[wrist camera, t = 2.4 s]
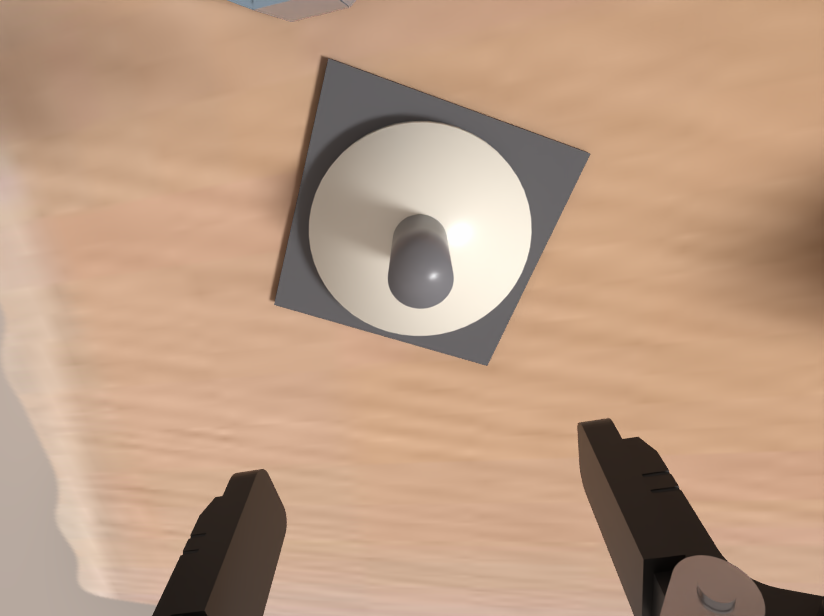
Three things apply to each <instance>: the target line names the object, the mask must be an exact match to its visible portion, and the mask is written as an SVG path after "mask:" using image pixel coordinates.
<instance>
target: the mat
mask: <svg viewBox="0 0 824 616" xmlns="http://www.w3.org/2000/svg"><path fill="white" fill-rule="evenodd" d="M407 121H433V122H441V123H445V124H449V125H453V126H456V127H459V128H461V129H464V130H466V131H468V132H471V133H473V134H474V135H476V136H478V137H479V138H481V139H482V140H484V141H485V142H487V143H488V144H489V145H490V146H491V147H493V148H494V149H495V150H496V151H497V152H498V153H499V154H500V155H501V156H502V157H503V158H504V159H505V161H506V162H507V163H508V164H509V165H510V167H511V168H512V170H513V171H514V173H515V174H516V175H517V177H518V179H519V181H520V183H521V185H522V187H523V189H524V191H525V195H526V198H527V201H528V204H529V209H530V215H531V231H532V233H531V243H530V249H529V253H528V257H527V261H526V263H525V266H524V268H523V271H522V273H521V275H520V277H519V279H518V280H517V282H516V284H515V286H514V287H513V288H512V290H511V291H510V292H509V294H508V295H507V296H506V297H505V298H504V299H503V301H502V302H501V303H500V304H499V305H498V306H497V307H495V308H494V309H493V310H492V311H491V312H489V313H488V314H487V315H485V316H484V317H482V318H481V319H479V320H477V321H476V322H474V323H472V324H470V325H468V326H466V327H463V328H460V329H457V330H455V331H451V332H447V333H443V334H437V335H429V336H411V335H401V334H396V333H392V332H388V331H385V330H382V329H379V328H376V327H374V326H372V325H370V324H368V323H366V322H364V321H362V320H360V319H359V318H357V317H356V316H354V315H353V314H351V313H350V312H349V311H348V310H347V309H345V308H344V307H343V306H342V305H341V304H340V303H339V302H338V301H337V300H336V299H335V298H334V297H333V295H332V294H331V293H330V291H329V290H328V289H327V287H326V286H325V284H324V283H323V281H322V279H321V277H320V275H319V273H318V271H317V268H316V266H315V264H314V260H313V257H312V253H311V249H310V241H309V219H310V212H311V206H312V203H313V200H314V197H315V193H316V191H317V189H318V187H319V185H320V182H321V180H322V179H323V177H324V176H325V174H326V172H327V171H328V169H329V168H330V166H331V165H332V164H333V163H334V162H335V161H336V159H337V158H338V157H339V156H340V155H341V154H342V153H343V152H344V151H345V150H346V149H347V148H348V147H349V146H351V145H352V144H353V143H354V142H356V141H357V140H359V139H360V138H362V137H363V136H365V135H366V134H369V133H371V132H373V131H375V130H377V129H379V128H382V127H385V126H388V125H392V124H395V123H401V122H407ZM589 156H590V153H588V152H585V151H582V150H580V149H577V148H574V147H571V146H569V145H566V144H563V143H560V142H558V141H555V140H552V139H549V138H547V137H544V136H541V135H538V134H536V133H533V132H530V131H527V130H525V129H522V128H519V127H516V126H514V125H511V124H508V123H505V122H503V121H500V120H497V119H494V118H492V117H489V116H486V115H483V114H481V113H478V112H475V111H472V110H470V109H467V108H464V107H461V106H459V105H456V104H453V103H450V102H448V101H445V100H442V99H439V98H437V97H434V96H431V95H428V94H426V93H423V92H420V91H417V90H415V89H412V88H409V87H406V86H404V85H401V84H398V83H396V82H393V81H390V80H387V79H385V78H382V77H379V76H376V75H374V74H371V73H368V72H365V71H363V70H360V69H357V68H354V67H352V66H349V65H346V64H343V63H341V62H338V61H335V60H332V59H329V58H328V63H327V67H326V72H325V76H324V81H323V85H322V90H321V94H320V99H319V103H318V108H317V113H316V117H315V122H314V126H313V131H312V135H311V140H310V144H309V149H308V153H307V158H306V163H305V167H304V172H303V176H302V181H301V185H300V190H299V194H298V199H297V203H296V208H295V213H294V217H293V222H292V226H291V231H290V235H289V240H288V244H287V249H286V253H285V258H284V263H283V267H282V272H281V276H280V281H279V285H278V290H277V294H276V299H275V303H274V305H277V306H280V307H284V308H287V309H291V310H294V311H298V312H301V313H305V314H308V315H311V316H315V317H318V318H322V319H325V320H329V321H332V322H336V323H339V324H343V325H346V326H350V327H353V328H357V329H360V330H364V331H367V332H371V333H374V334H378V335H381V336H385V337H388V338H392V339H395V340H399V341H402V342H406V343H409V344H413V345H416V346H420V347H423V348H427V349H430V350H434V351H437V352H441V353H444V354H448V355H451V356H455V357H458V358H462V359H465V360H469V361H472V362H476V363H479V364H483V365H486V366H487V365H488V363H489V361H490V359H491V357H492V355H493V353H494V351H495V349H496V347H497V345H498V343H499V341H500V339H501V336H502V334H503V332H504V330H505V328H506V326H507V324H508V322H509V320H510V318H511V316H512V314H513V312H514V310H515V308H516V306H517V304H518V302H519V300H520V297H521V295H522V293H523V291H524V289H525V287H526V285H527V283H528V281H529V279H530V277H531V275H532V273H533V271H534V269H535V267H536V265H537V263H538V260H539V258H540V256H541V254H542V252H543V250H544V248H545V246H546V244H547V242H548V240H549V238H550V236H551V234H552V232H553V230H554V228H555V226H556V224H557V221H558V219H559V217H560V215H561V213H562V211H563V209H564V207H565V205H566V203H567V201H568V199H569V197H570V195H571V193H572V191H573V189H574V187H575V185H576V182H577V180H578V178H579V176H580V174H581V172H582V170H583V168H584V166H585V164H586V162H587V160H588V158H589Z"/></svg>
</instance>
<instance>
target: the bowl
mask: <svg viewBox="0 0 824 616" xmlns="http://www.w3.org/2000/svg"><path fill="white" fill-rule="evenodd" d="M228 1H231V2H233V3H236V4H239V5H241V6H244V7H247V8H249V9H252V10H255V11H258V12H262V13H265V14H268V15H271V16H274V17H277V18H281V19H284V20H287V21H290V22H294V21H298V20H302V19H306V18H310V17H314V16H318V15H322V14H326V13H330V12H334V11H338V10H342V9H346V8H349V7H351V6H352V4H353V3H354V2H355V1H356V0H228Z"/></svg>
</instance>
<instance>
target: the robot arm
mask: <svg viewBox="0 0 824 616" xmlns="http://www.w3.org/2000/svg"><path fill="white" fill-rule="evenodd" d="M577 430H578V447H579V465H580V473H581V478H582V482H583V486H584V489H585V492H586V495H587V498H588V500H589V503H590V505H591V508H592V510H593V513H594V515H595V518H596V520H597V523H598V525H599V528H600V530H601V533H602V536H603V538H604V541H605V543H606V546H607V548H608V551H609V553H610V556H611V558H612V561H613V563H614V566H615V568H616V571H617V573H618V576H619V578H620V581H621V584H622V586H623V589H624V591H625V594H626V596H627V599H628V601H629V604H630V606H631V609H632V611H633V614H634V616H824V597H823V596H818V595H812V594H807V593H802V592H796V591H791V590H785V589H780V588H776V587H772V586H768V585H765V584H762V583H760V582H758V581H756V580H753V579H751V578H750V577H749V576H748V575H747V574H745V573H744V572H743V571H742V570H740V569H739V568H738V567H736V566H734V565H733V564H731V563H729V562H728V561H727V560H726V559H725V558H724V557H723V556H722V554H721V553H720V552H719V550H718V549H717V547H716V545H715V544H714V542H713V541H712V539H711V537H710V536H709V534H708V533H707V531H706V529H705V528H704V526H703V525H702V523H701V521H700V520H699V518H698V516H697V515H696V513H695V512H694V510H693V508H692V507H691V505H690V504H689V502H688V500H687V499H686V497H685V496H684V494H683V492H682V491H681V490H680V489H679V486H678V484H677V483H676V481H675V479H674V478H673V476H672V475H671V474H670V473H669V470H668V468H667V467H666V465H665V463H664V462H663V460H662V458H661V457H660V455H659V454H658V452H657V451H656V450H654V449H653V448H652V447H651V446H649V445H648V444H647V443H645V442H644V441H643V440H642V439H640V438H639V437H634V438H627V439H622V438H621V436H620V434H619V432H618V430H617V429H616V427H615V425H614V423H613V422H612V420H611V419H609V418H607V419H600V420H594V421H587V422H580V423H578V426H577ZM286 526H287V520H286V512H285V509H284V506H283V504H282V502H281V500H280V498H279V496H278V493H277V491H276V489H275V487H274V485H273V483H272V481H271V479H270V477H269V474H268V473H267V471H266V470H264V469H260V470H253V471H247V472H240V473H235V474H234V475H232V477H231V478H230V480H229V483H228V485H227V487H226V490H225V492H224V494H223V496H220V497H215V498H214V499H213V501H212V502H211V503H210V504H209V505H208V506H207V508H206V509H205V510H204V511H203V512H202V513H201V515H200V516H199V518H198V520H197V522H196V524H195V527H194V529H193V531H192V533H191V538H190V539H188V541H187V543H186V546H185V548H184V550H183V555H181V556H180V558H179V560H178V562H177V564H176V567H175V569H174V571H173V573H172V575H171V577H170V579H169V581H168V583H167V586H166V588H165V590H164V592H163V594H162V596H161V598H160V600H159V602H158V605H157V607H156V609H155V611H154V613H153V615H152V616H263V614H264V610H265V606H266V603H267V599H268V595H269V592H270V588H271V584H272V581H273V577H274V573H275V570H276V566H277V563H278V559H279V555H280V552H281V548H282V544H283V541H284V537H285V533H286Z"/></svg>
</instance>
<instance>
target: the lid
mask: <svg viewBox="0 0 824 616" xmlns="http://www.w3.org/2000/svg"><path fill="white" fill-rule="evenodd" d="M531 233H532V231H531V215H530V209H529V204H528V201H527V198H526V195H525V191H524V189H523V187H522V185H521V183H520V181H519V179H518V177H517V175H516V174H515V173H514V171H513V170H512V168H511V167H510V165H509V164H508V163H507V162H506V161H505V159H504V158H503V157H502V156H501V155H500V154H499V153H498V152H497V151H496V150H495V149H494V148H493V147H491V146H490V145H489V144H488V143H487V142H485V141H484V140H482V139H481V138H479V137H478V136H476V135H474V134H473V133H471V132H468V131H466V130H464V129H461V128H459V127H456V126H453V125H449V124H445V123H441V122H433V121H407V122H401V123H395V124H392V125H388V126H385V127H382V128H379V129H377V130H375V131H373V132H371V133H369V134H366V135H365V136H363V137H362V138H360V139H359V140H357V141H356V142H354V143H353V144H352V145H351V146H349V147H348V148H347V149H346V150H345V151H344V152H343V153H342V154H341V155H340V156H339V157H338V158H337V159H336V161H335V162H334V163H333V164H332V165H331V166H330V168H329V169H328V171H327V172H326V174H325V176H324V177H323V179H322V180H321V182H320V185H319V187H318V189H317V191H316V193H315V197H314V200H313V203H312V206H311V212H310V219H309V241H310V249H311V253H312V257H313V260H314V264H315V266H316V268H317V271H318V273H319V275H320V277H321V279H322V281H323V283H324V284H325V286H326V287H327V289H328V290H329V291H330V293H331V294H332V295H333V297H334V298H335V299H336V300H337V301H338V302H339V303H340V304H341V305H342V306H343V307H344V308H345V309H347V310H348V311H349V312H350V313H351V314H353V315H354V316H356V317H357V318H359V319H360V320H362V321H364V322H366V323H368V324H370V325H372V326H374V327H376V328H379V329H382V330H385V331H388V332H392V333H396V334H401V335H411V336H429V335H437V334H443V333H447V332H451V331H455V330H457V329H460V328H463V327H466V326H468V325H470V324H472V323H474V322H476V321H477V320H479V319H481V318H482V317H484V316H485V315H487V314H488V313H489V312H491V311H492V310H493V309H494V308H495V307H497V306H498V305H499V304H500V303H501V302H502V301H503V299H504V298H505V297H506V296H507V295H508V294H509V292H510V291H511V290H512V288H513V287H514V286H515V284H516V282H517V280H518V279H519V277H520V275H521V273H522V271H523V268H524V266H525V263H526V261H527V257H528V253H529V249H530V243H531Z"/></svg>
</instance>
